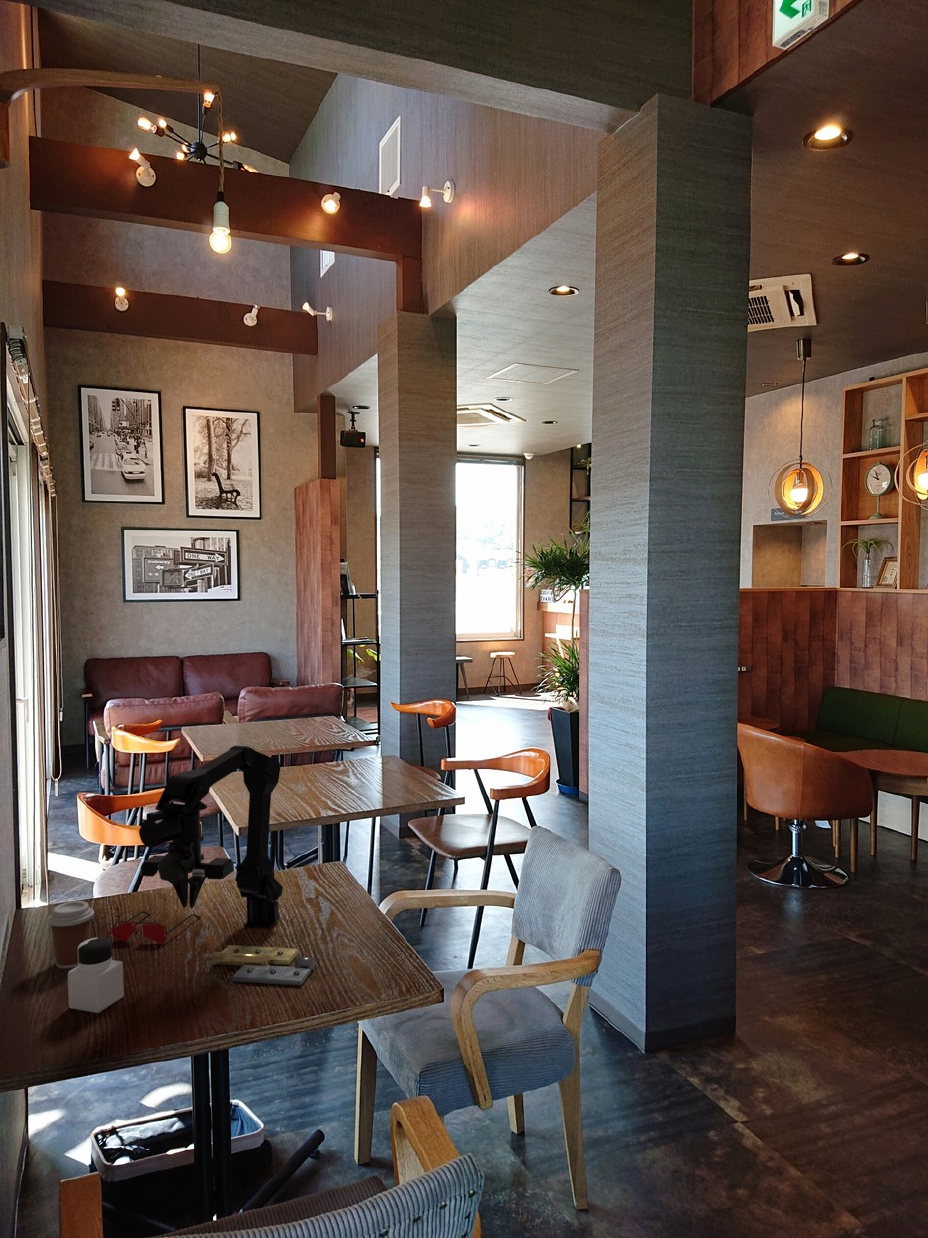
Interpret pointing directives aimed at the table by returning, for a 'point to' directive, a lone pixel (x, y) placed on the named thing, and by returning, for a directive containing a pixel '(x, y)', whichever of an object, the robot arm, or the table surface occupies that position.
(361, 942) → the table surface
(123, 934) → the glasses
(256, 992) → the table surface
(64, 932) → the coffee cup
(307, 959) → the steel leaf
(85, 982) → the medicine bottle
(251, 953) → the brass leaf
